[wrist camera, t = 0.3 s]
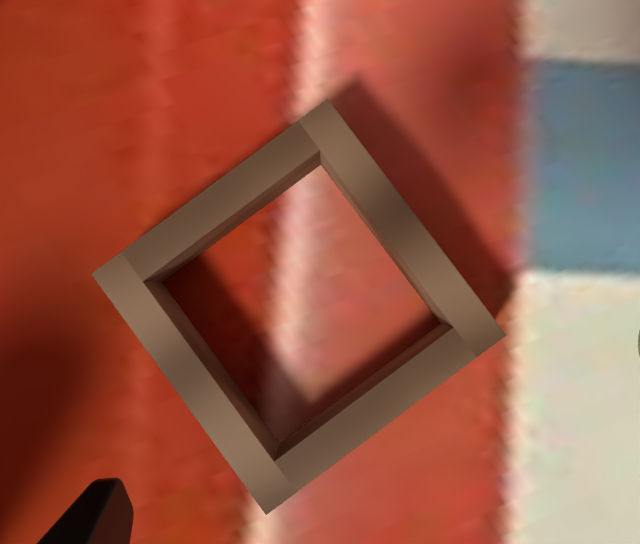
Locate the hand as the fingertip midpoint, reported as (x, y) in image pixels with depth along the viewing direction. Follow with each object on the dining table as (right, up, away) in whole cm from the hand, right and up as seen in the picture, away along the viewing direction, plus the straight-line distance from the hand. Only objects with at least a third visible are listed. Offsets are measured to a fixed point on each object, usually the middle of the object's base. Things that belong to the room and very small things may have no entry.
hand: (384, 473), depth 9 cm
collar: (-2, +2, +15) cm, 15 cm away
